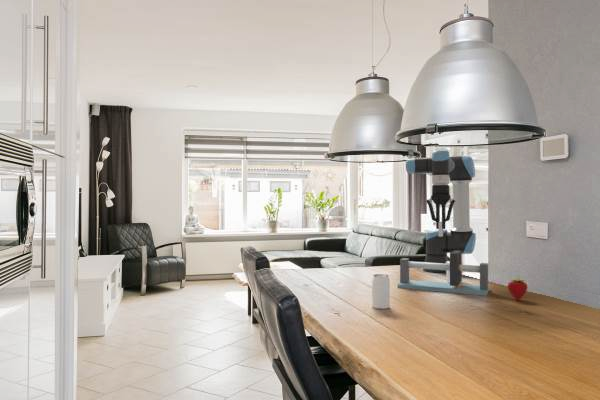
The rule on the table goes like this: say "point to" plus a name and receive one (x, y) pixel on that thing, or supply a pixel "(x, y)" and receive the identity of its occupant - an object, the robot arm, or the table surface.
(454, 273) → the dark grey square plate
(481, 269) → the pipe stand
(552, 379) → the table surface
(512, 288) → the strawberry
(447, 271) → the white cup
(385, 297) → the can
